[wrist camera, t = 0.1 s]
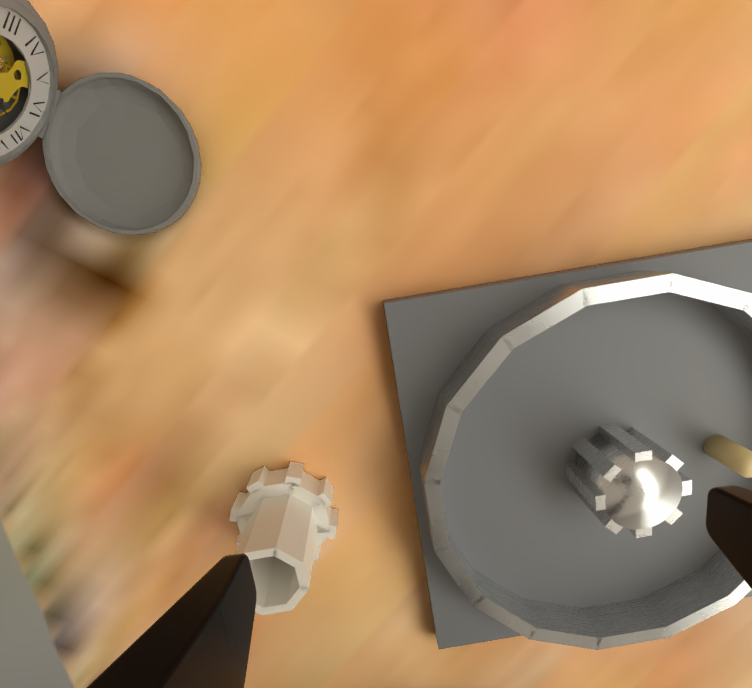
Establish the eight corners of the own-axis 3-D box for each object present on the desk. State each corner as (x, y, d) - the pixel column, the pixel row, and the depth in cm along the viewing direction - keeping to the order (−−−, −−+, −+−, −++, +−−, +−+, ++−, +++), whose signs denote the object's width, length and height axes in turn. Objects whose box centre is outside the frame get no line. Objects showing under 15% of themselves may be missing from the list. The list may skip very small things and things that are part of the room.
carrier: (770, 577, 27) (824, 621, 24) (435, 634, 27) (445, 686, 24) (799, 231, 22) (873, 229, 19) (382, 300, 22) (387, 311, 18)
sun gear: (650, 493, 24) (690, 528, 21) (568, 507, 24) (597, 544, 21) (649, 417, 23) (692, 443, 20) (563, 431, 23) (594, 460, 20)
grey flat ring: (778, 585, 26) (812, 613, 24) (445, 641, 26) (453, 674, 24) (808, 242, 21) (855, 243, 19) (395, 311, 21) (399, 319, 19)
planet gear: (344, 539, 25) (341, 621, 20) (251, 555, 25) (222, 641, 20) (326, 455, 24) (318, 518, 18) (228, 471, 24) (190, 540, 18)
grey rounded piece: (214, 232, 20) (85, 226, 11) (35, 238, 20) (-262, 238, 10) (190, 38, 18) (6, -182, 9) (-8, 42, 18) (-426, -183, 8)
